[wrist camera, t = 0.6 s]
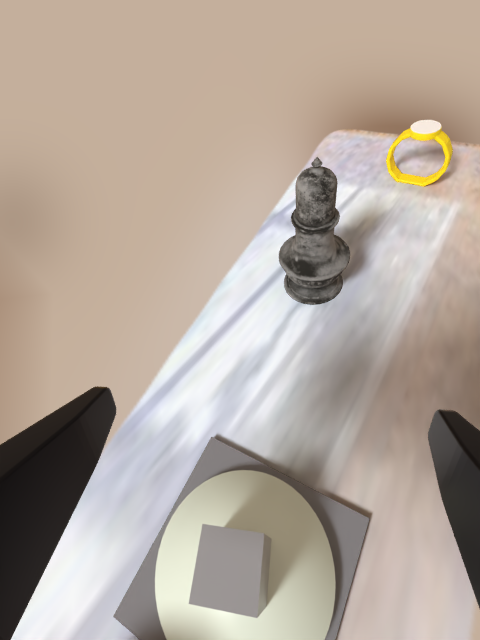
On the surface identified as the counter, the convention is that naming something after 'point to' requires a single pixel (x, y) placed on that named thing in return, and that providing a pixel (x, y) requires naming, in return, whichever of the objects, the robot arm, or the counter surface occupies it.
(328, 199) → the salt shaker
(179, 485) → the counter surface
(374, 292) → the counter surface
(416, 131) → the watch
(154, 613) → the mat
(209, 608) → the lid
